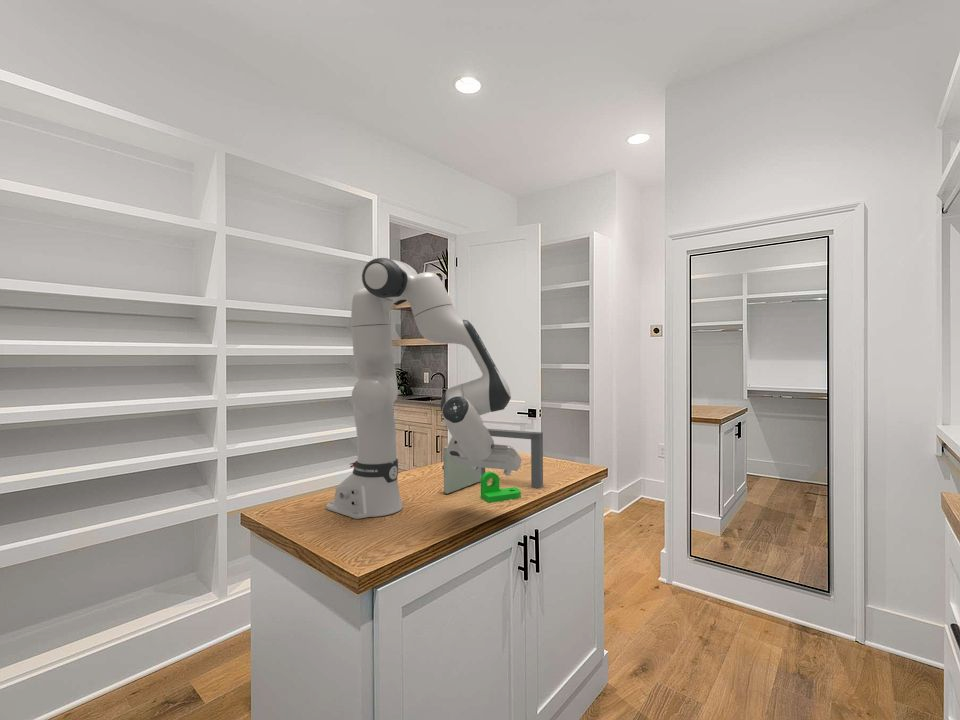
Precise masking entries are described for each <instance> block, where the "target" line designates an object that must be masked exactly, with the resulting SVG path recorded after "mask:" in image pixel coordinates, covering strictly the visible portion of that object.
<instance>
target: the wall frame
mask: <svg viewBox="0 0 960 720" xmlns="http://www.w3.org/2000/svg"><path fill="white" fill-rule="evenodd" d="M487 430H488V431H489V433H490V435H491V437H498V438H507V439H509V438H510V439H521V440H522V439H523V440H530V449H531V450H530V457H531V458H530V463H531V465H530V466H531V467H530V469H531V471H530V473H531V474H530V475H531V476H530V477H531V478H530V481H531V482H530V483H531V488H532V487H533V489H539V488H540V489H542V488H543V487H544V446H543V445H544V439H543V438H544V436H543V432H541V431H529V430H527V431H526V430H513V429H512V430H509V429H500V428H499V429H498V428H487ZM481 473H482V475H483V474H484V473H486V468H483V467H482V469H481ZM542 486H543V487H542Z"/></svg>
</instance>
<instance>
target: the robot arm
mask: <svg viewBox="0 0 960 720" xmlns="http://www.w3.org/2000/svg"><path fill="white" fill-rule="evenodd" d="M361 282H362V285H363V287H362V288H360V289H358V290H357V291H355V293H353V295H352V302H351V310H350V311H351V315H350V317H351V319H350V321H351V322H350V323H351V325H350V326H351V337H352V340H351V341H352V352H353V357H354V361H355V364H356V368H357V374H358V381H357V382H356V383H355V384H354V386H353V388H352V392H351V402H352V408H353V416H354V423H355V429H356V447H357V448H356V450H357V453H356V454H357V455H356V456H357V460H356V461H354V462H351V463H349V465H350V466H349V468H353V470H352V473H351V474H350V475H348V477H346V478H345V479H344V480H342V482H340V483H338V485H337V486H336V488H335V491H334V499H332V500H330V501H329V502H328V503H327V504H326V506H325V509H326V510H329V511H331V512H334V513H337V514H340V515H343V516H347V517H349V518H352V519H355V520H358V519H365V518H375V517H383V516H387V515H388V516H389V515H392V514H396V513H398V512H400V511H401V510H402V509H403V507H404V506H403V502H402V499H401V495H400V489H399V482H398V476H399V475H398V474H399V460H398V458H397V431H396V424H395V415H394V413H395V412H394V403H395V402H396V400H397V398H398V395H399V390H398V389H399V388H398V379H397V371H396V365H395V359H394V350H393V337H392V326H391V324H392V323H391V322H392V321H391V310H392V309H391V308H392V306H393V305H395V306H399V305H401V304H403V303H408V304H409V307H410V309H411V312H412V314H413V315H412V316H413V318H414V322H415V324H416V327H417V329H418V331H419V332H420V334H421V336H422V337H423V338H424V339H426V340H427V341H430V342H433V343H436V344H437V343H438V344H453V345H455V344H456V345H462V346H464V347H466V348H467V349H468V350H469V352H470V354H471V355H472V357H473V359H474V360H475V363H476V364H477V366H478V367H479V370H480V372H481V374H482V375H481V376H480V377H478V378H475V379H473V380H470V381H467V382H464V383H461V384H457V385H454V386H451V387H450V388H447V389H446V390H445V391H444V393H443V395H442V398H441V400H440V411H441V416H442V418H443V421H444V423H445V426H446V427H447V430H448V432H449V434H450V435H451V437H450V440H449V442H448V443H447V446H448V447H447V446H446V447H447V450H446V452H447V453H448V454H449V457H450V458H451V460H452V461H453V462H454V463H455V464H457V465H464V466H468V467H470V468H472V469H474V471H475V472H481V469H482V467H483V468H485V469H494V470H503V475H504V476H508V477H510V476H511V475H512V471H514V472H515V471H516V472H518V470H519V469H520V467H521V465H522V457H521V456H520V454H519V453H518V452H517V450H516V449H515V448H514V447H512V446H510V445H506V444H497V443H495V442H494V441H495V440H494V438H493V436H491V435H490V433H489V431H488V430H487V429H488V427H486V426H485V425H484V421H483V419H482V417H481V416H482V415H486V414H488V413H494V412H498V411H504V410H505V408H506V407H507V406H508V404H509V402H510V401H511V398H512V396H511V389H510V387H509V384H508V383H507V381H506V380H505V378H504V377H503V376H502V374H501V372H500V371H499V369H498V368H497V366H496V363H495V362H494V360H493V359H492V356H491V355H490V353H489V351H488V350H487V348H486V346H485V344H484V343H483V340H482V338H481V337H480V335H479V334H478V332H477V330H476V328H475V327H474V325H473V324H472V323H471V321H469V320H468V319H467V320H466V319H462V318H461V317H460V316H459V315H458V314H457V312H456V311H455V308H454V306H453V304H452V300H451V298H450V296H449V295H450V294H449V293H448V291H447V289H446V286H445V284H444V283H443V281H442V280H441V278H440V277H439V275H437V274H436V273H434V272H431V271H425V272H419V270H418V269H417V268H415V267H414V266H413V265H410V264H407V263H406V262H403V261H401V260H398V259H397V260H395V259H390V258H388V257H378V258H374V259H373V258H372V260H369V261H368V262H367V263H366V265H365V266H364V267H363V270H362V273H361Z"/></svg>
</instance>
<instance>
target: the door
mask: <svg viewBox="0 0 960 720" xmlns="http://www.w3.org/2000/svg"><path fill="white" fill-rule="evenodd" d="M447 447H448V445H446V446H443V448H442V449H443V452H442V454H443V460H442V461H443V465H442V470H443V494H447V495H448V494H450V493H452V492H453V493H454V492H456V491H458V490H461V489H463V488H466V487H469V486H471V485H473V484H477V483H479V482H480V483H481V477H482V473H481V472H475V471H474V469H472V468H470V467H468V466H464V465H457V464H455V463H454V462H453V461H452V460H451V458H450V457H449V454H448V453H447V452H446V450H447Z"/></svg>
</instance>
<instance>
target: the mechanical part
mask: <svg viewBox="0 0 960 720" xmlns="http://www.w3.org/2000/svg"><path fill="white" fill-rule="evenodd" d="M490 479H492V482H491V484H489V485H488V482H489V480H490ZM521 492H522V491H521V489H519V488H518V487H516V486H512V487H506V488H505V487H504V488H500V477H499V475H498V474H496V473H495V472H493V471H485V473H484V474H483V475H482V477H481V481H480V498H481V499H483V501H486V502H487V503H488V504H492V502H493V503H498V501H499V502H505V501H504V500H506V501H511V500H510V499H512V500H517V499H516V498H518V499H520V498H521V496H522V493H521ZM519 497H520V498H519Z"/></svg>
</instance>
